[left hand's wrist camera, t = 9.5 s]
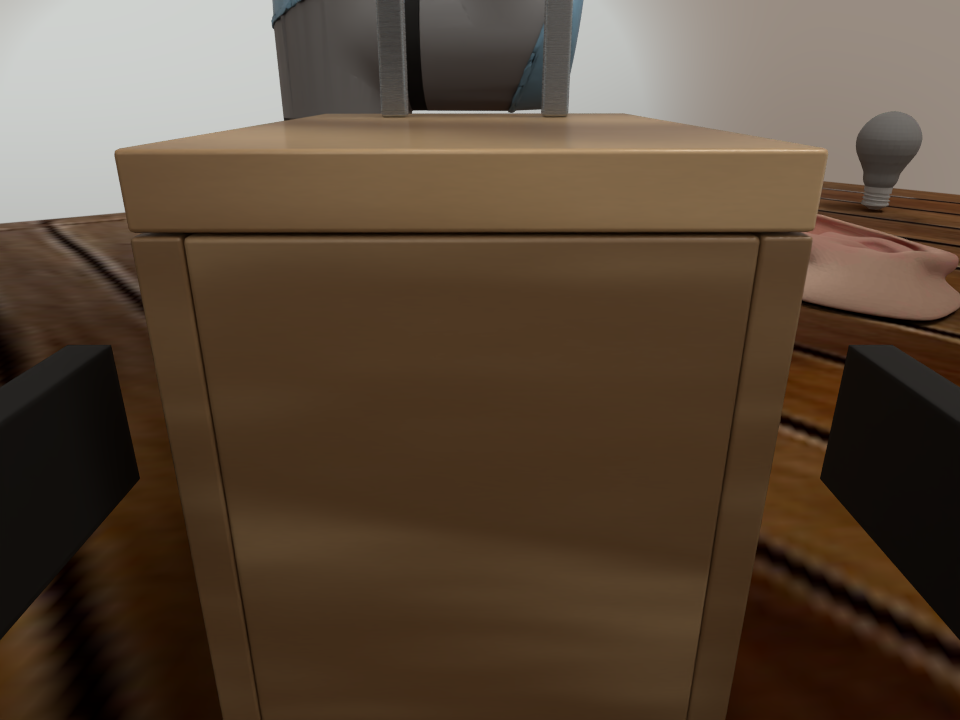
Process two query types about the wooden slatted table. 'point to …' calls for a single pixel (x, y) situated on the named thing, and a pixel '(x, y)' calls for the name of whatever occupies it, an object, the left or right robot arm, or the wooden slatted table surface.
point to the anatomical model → (877, 273)
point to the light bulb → (886, 154)
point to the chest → (473, 463)
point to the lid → (471, 168)
